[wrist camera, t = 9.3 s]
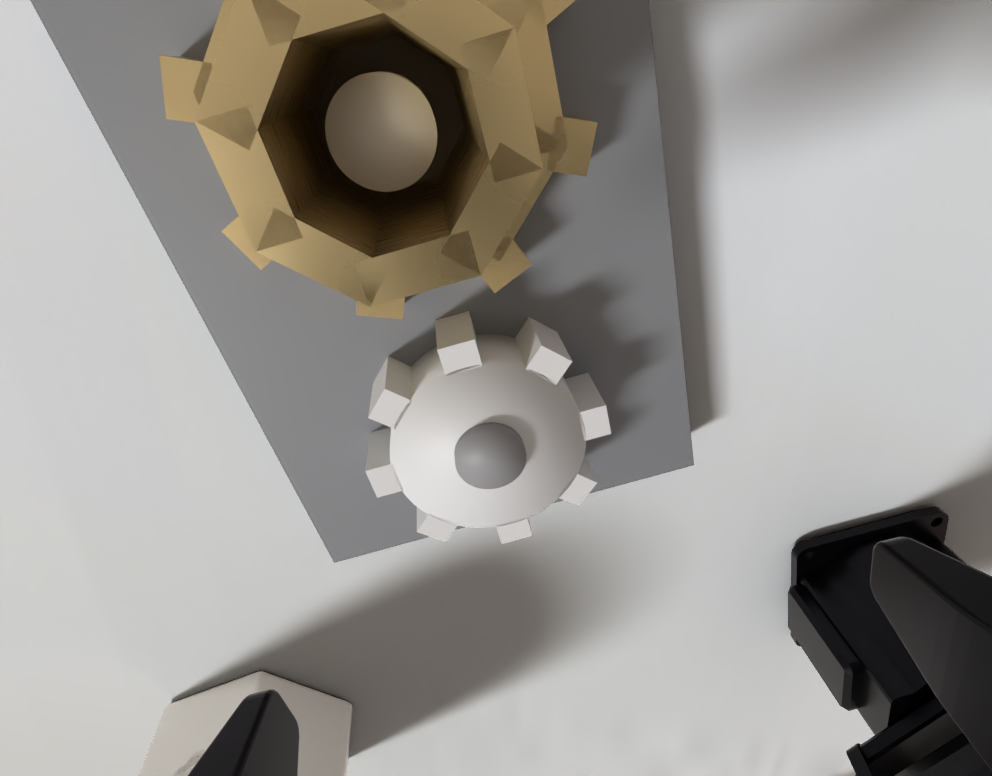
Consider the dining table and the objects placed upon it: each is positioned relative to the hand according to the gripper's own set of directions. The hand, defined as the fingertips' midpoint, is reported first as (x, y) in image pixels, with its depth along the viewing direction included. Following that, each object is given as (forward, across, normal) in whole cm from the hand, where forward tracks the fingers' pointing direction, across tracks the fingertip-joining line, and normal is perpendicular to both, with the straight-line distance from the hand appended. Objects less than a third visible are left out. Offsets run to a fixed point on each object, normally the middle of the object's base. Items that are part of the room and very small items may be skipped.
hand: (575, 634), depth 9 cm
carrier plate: (+12, +1, -3) cm, 12 cm away
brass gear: (+10, +1, -7) cm, 12 cm away
